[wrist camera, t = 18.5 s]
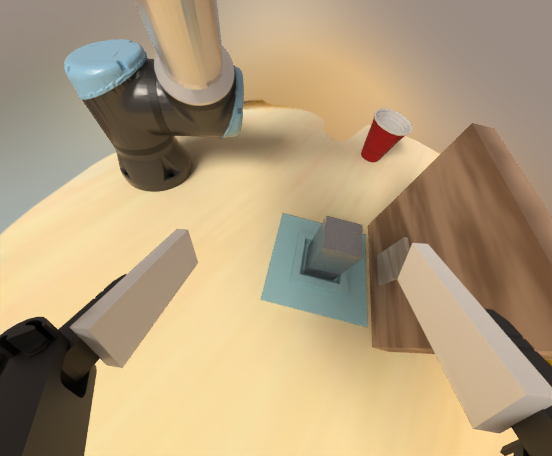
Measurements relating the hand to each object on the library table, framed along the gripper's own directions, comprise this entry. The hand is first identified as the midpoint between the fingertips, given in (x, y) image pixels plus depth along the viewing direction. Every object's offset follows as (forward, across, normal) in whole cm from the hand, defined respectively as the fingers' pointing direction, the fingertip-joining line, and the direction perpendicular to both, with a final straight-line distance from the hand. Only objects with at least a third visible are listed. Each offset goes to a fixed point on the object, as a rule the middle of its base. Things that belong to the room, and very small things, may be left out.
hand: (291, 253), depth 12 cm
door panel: (+23, +16, -23) cm, 36 cm away
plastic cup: (+59, +20, -6) cm, 63 cm away
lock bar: (+22, +4, -20) cm, 30 cm away
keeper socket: (+23, +4, -20) cm, 31 cm away
